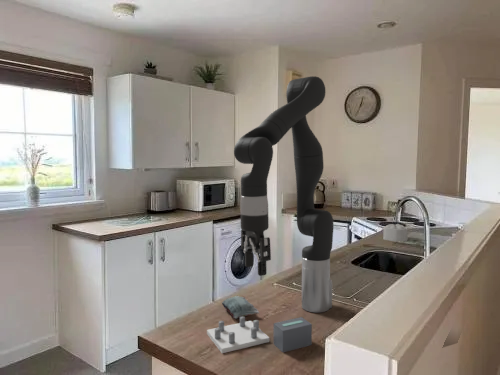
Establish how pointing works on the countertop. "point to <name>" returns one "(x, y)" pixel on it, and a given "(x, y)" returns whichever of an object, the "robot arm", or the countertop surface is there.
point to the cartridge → (292, 334)
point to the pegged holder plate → (237, 335)
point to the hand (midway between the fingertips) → (255, 270)
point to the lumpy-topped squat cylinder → (395, 232)
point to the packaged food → (239, 307)
